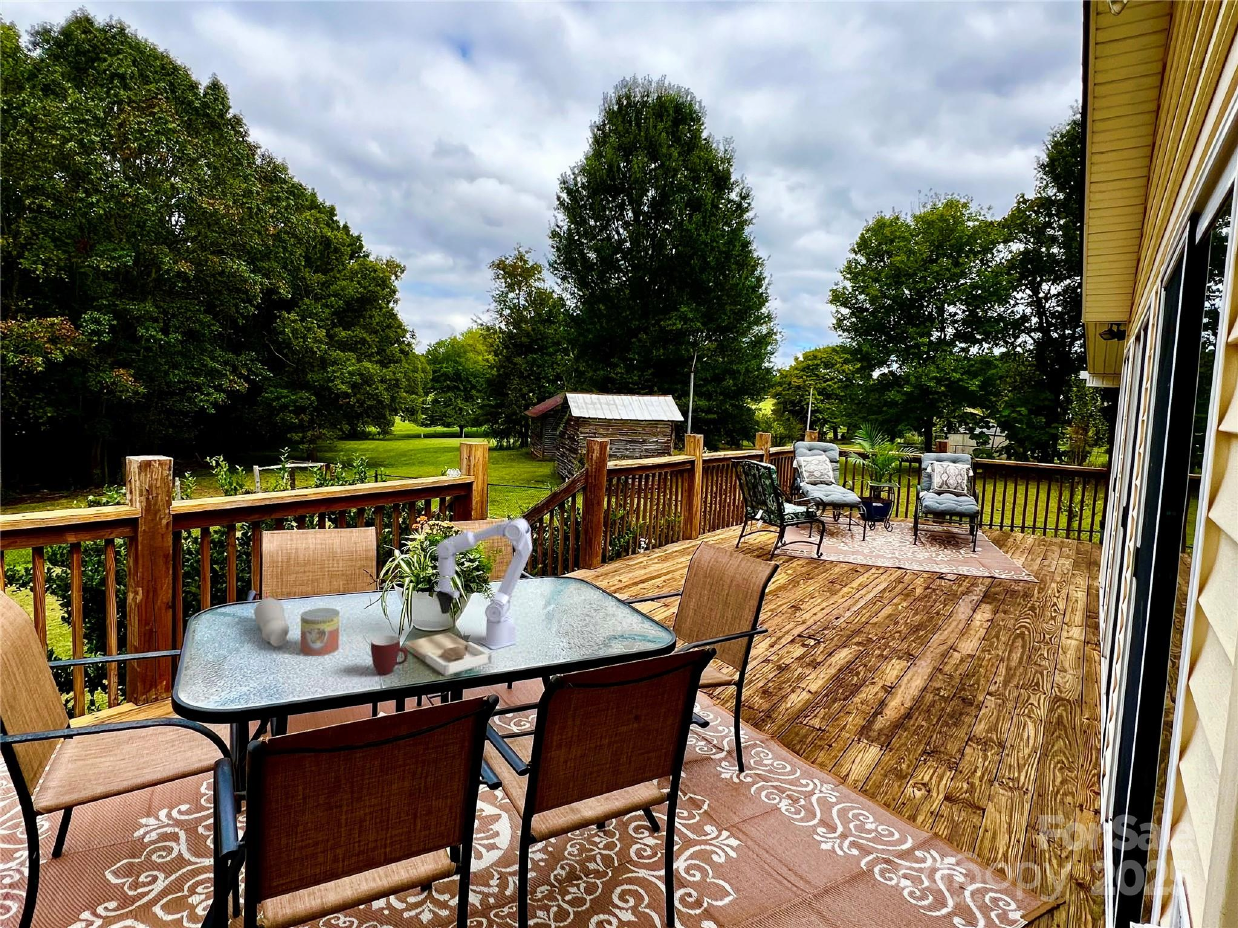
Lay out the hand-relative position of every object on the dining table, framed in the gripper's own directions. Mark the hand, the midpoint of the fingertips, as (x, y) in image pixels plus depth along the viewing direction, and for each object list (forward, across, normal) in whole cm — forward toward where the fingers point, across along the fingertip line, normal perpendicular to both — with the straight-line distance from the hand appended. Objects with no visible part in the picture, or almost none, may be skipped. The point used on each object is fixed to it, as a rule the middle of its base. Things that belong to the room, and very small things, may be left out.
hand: (445, 612), depth 217 cm
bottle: (+10, -37, -44) cm, 58 cm away
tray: (+9, +20, -6) cm, 23 cm away
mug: (+10, +14, -26) cm, 31 cm away
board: (+9, +6, -6) cm, 13 cm away
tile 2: (+9, +17, -6) cm, 20 cm away
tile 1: (+8, +18, -6) cm, 20 cm away
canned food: (+10, -15, -36) cm, 40 cm away
